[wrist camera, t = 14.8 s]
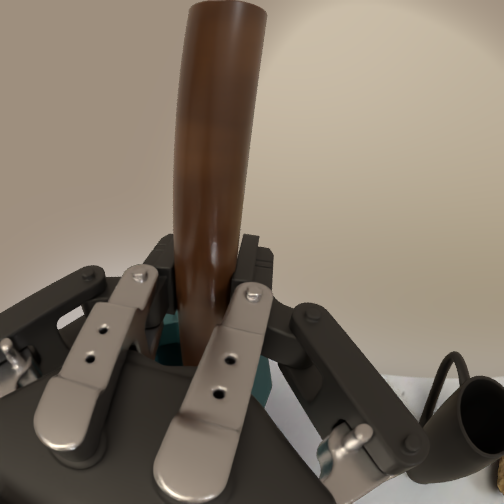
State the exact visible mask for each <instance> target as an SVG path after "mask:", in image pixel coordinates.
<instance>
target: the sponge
mask: <svg viewBox="0 0 504 504" xmlns="http://www.w3.org/2000/svg"><path fill="white" fill-rule="evenodd" d="M497 486H498V488H499V489H500V492H502V493H503V495H504V456H503V457H501V459H500V462H499V469H498V480H497Z"/></svg>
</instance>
